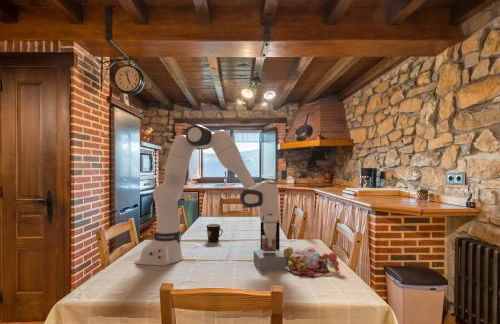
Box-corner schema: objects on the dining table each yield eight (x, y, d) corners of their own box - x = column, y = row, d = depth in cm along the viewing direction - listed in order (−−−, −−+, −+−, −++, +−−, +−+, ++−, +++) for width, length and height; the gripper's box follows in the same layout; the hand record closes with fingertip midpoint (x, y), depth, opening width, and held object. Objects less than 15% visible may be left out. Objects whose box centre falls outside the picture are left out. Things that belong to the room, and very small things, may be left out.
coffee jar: (258, 253, 153) (258, 219, 154) (262, 247, 164) (262, 216, 164) (278, 254, 151) (278, 220, 151) (280, 248, 161) (280, 217, 161)
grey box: (259, 271, 127) (260, 258, 127) (253, 262, 139) (253, 250, 139) (285, 269, 130) (285, 256, 130) (276, 261, 141) (276, 249, 141)
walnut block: (263, 251, 131) (263, 238, 131) (262, 247, 137) (262, 235, 137) (275, 251, 131) (275, 238, 131) (274, 247, 137) (274, 235, 137)
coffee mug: (204, 240, 179) (204, 224, 180) (217, 238, 183) (217, 223, 183) (210, 244, 169) (210, 228, 169) (223, 243, 172) (223, 226, 173)
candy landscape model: (296, 280, 117) (296, 258, 117) (275, 262, 140) (275, 243, 140) (348, 274, 124) (348, 253, 124) (320, 257, 147) (320, 240, 147)
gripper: (260, 211, 145) (260, 238, 145) (264, 218, 124) (264, 250, 124) (273, 211, 145) (272, 238, 145) (278, 218, 125) (278, 250, 124)
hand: (268, 244), depth 134 cm, fingers closed on walnut block, 6 cm apart
